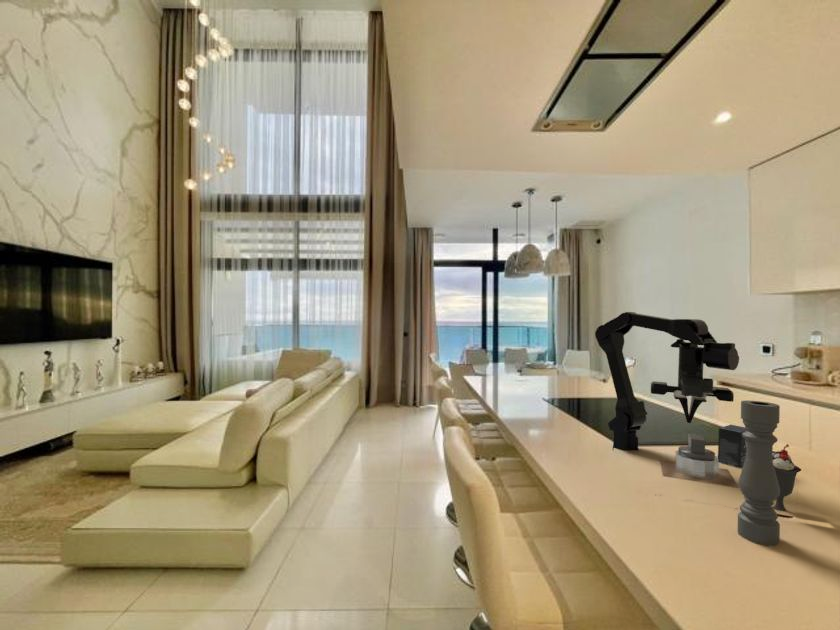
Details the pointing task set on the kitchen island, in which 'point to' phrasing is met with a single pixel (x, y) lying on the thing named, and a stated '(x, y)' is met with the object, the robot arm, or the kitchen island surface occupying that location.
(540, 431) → the kitchen island surface
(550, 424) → the kitchen island surface
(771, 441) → the candle holder
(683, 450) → the lens cap
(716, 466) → the toothed hollow cylinder
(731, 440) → the box
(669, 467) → the stand
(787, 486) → the sundae
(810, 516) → the kitchen island surface
